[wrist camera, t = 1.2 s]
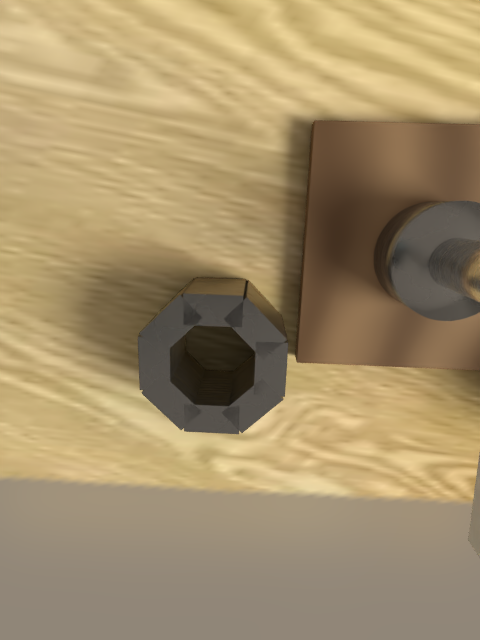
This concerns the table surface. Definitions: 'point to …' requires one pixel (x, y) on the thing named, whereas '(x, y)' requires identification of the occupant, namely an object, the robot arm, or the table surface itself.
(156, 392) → the ring
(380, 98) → the table surface
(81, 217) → the table surface
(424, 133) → the base board
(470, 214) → the shaft
